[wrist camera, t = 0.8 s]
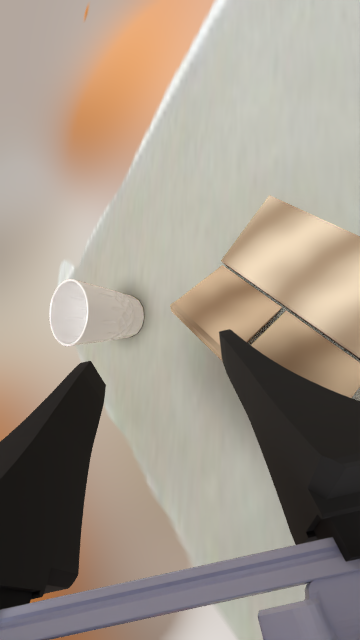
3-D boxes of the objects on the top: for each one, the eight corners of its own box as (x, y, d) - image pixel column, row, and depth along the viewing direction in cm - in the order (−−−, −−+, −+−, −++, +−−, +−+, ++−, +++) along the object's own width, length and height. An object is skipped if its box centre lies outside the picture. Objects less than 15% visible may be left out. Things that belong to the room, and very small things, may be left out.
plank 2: (360, 374, 17) (371, 370, 16) (307, 444, 15) (316, 446, 14) (281, 316, 20) (286, 310, 19) (229, 367, 18) (231, 364, 17)
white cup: (106, 325, 34) (43, 325, 25) (122, 284, 32) (60, 269, 23) (135, 350, 30) (73, 359, 22) (155, 305, 28) (96, 296, 20)
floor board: (478, 299, 14) (493, 297, 13) (381, 374, 16) (387, 377, 15) (270, 201, 21) (269, 195, 20) (223, 263, 23) (220, 260, 22)
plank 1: (277, 313, 20) (282, 306, 19) (225, 363, 18) (227, 360, 17) (221, 272, 23) (222, 264, 22) (171, 311, 21) (170, 305, 20)
